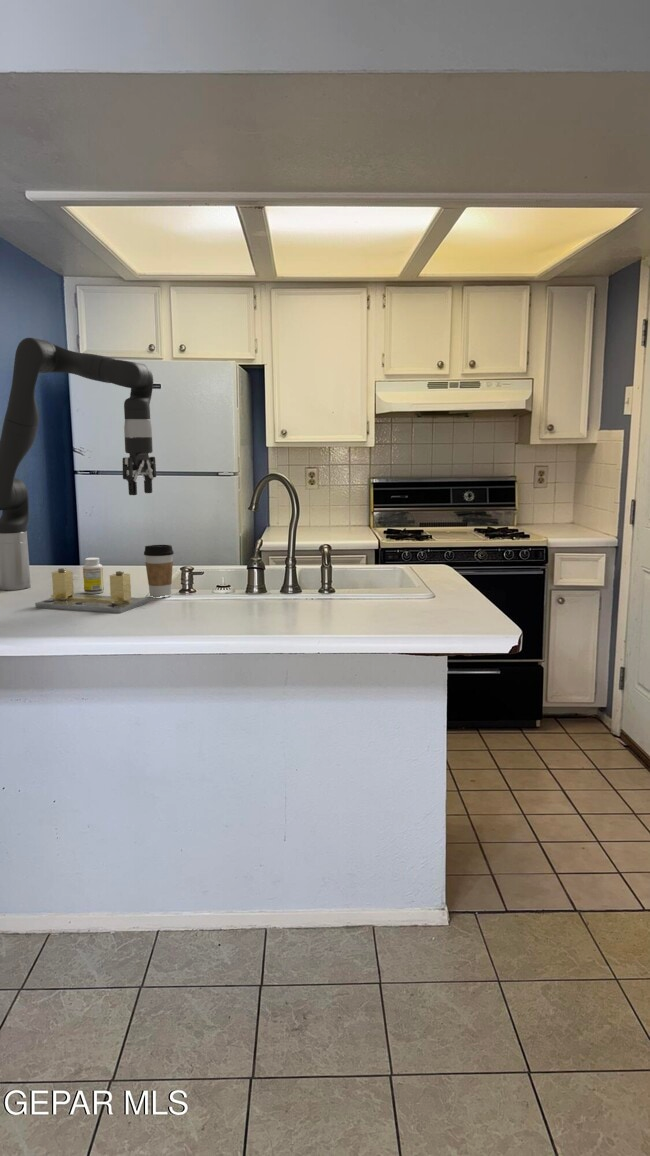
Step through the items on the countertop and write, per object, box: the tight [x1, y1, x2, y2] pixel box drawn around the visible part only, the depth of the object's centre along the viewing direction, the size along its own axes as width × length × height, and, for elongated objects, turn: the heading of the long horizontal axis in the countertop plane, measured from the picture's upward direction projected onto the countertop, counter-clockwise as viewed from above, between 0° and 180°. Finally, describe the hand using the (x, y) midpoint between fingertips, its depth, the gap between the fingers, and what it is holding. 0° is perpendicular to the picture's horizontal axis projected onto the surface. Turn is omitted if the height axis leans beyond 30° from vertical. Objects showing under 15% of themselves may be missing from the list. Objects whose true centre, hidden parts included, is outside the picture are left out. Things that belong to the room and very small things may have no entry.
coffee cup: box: [143, 544, 175, 597], centre depth 221 cm, size 8×8×15 cm
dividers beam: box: [63, 570, 133, 605], centre depth 208 cm, size 24×6×8 cm, turn 73°
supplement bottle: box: [82, 557, 105, 595], centre depth 227 cm, size 6×6×10 cm
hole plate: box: [34, 593, 149, 614], centre depth 210 cm, size 26×14×1 cm, turn 73°
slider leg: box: [50, 567, 75, 601], centre depth 211 cm, size 4×6×8 cm, turn 163°
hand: (140, 494), depth 218 cm, fingers open, 8 cm apart
